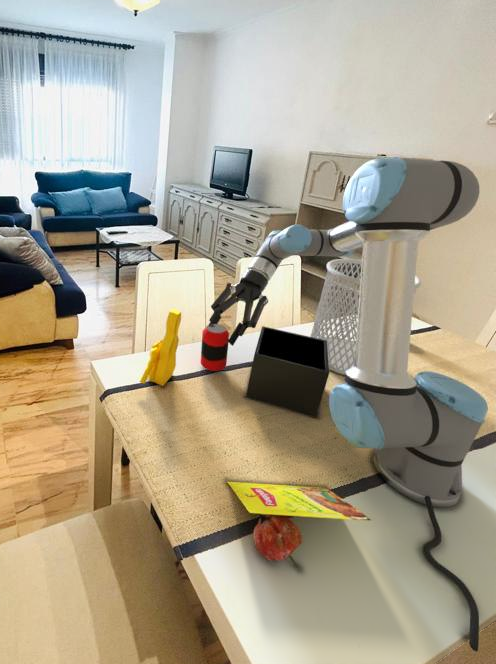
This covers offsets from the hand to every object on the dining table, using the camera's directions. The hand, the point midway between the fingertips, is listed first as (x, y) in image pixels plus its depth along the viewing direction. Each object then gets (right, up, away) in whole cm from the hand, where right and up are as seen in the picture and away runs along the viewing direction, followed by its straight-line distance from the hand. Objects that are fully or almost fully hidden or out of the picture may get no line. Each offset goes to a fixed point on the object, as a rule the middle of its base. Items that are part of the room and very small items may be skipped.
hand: (218, 337), depth 113 cm
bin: (+17, -14, -5) cm, 22 cm away
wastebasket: (+44, -8, +13) cm, 47 cm away
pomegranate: (-1, -30, -48) cm, 57 cm away
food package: (+14, -25, -43) cm, 52 cm away
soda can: (-1, -8, +2) cm, 9 cm away
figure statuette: (-17, -11, -4) cm, 21 cm away
